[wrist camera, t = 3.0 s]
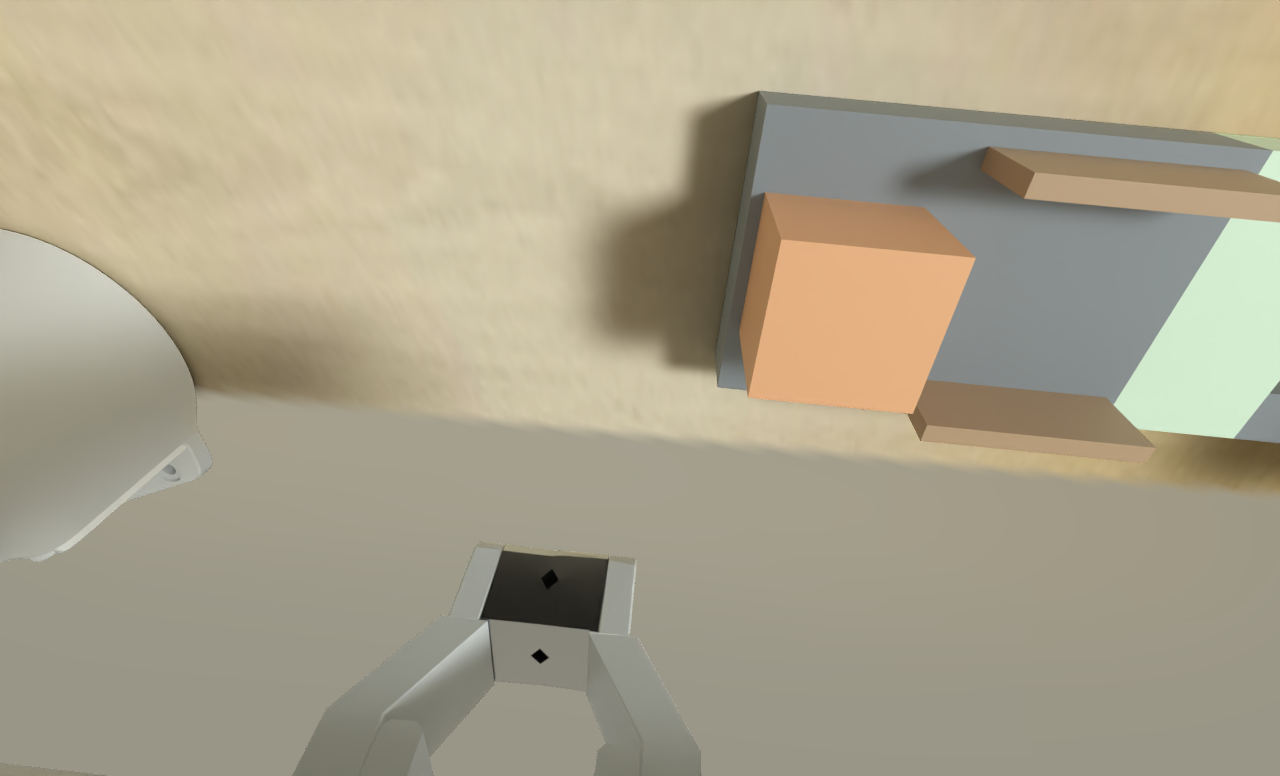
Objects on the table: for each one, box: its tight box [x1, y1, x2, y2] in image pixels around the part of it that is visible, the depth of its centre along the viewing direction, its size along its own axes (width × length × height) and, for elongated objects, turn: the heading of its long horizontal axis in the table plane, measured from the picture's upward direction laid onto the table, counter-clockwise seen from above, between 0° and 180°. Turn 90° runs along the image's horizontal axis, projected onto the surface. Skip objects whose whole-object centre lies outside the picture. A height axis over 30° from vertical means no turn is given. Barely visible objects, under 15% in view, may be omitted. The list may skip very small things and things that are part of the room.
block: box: [739, 192, 976, 414], centre depth 23 cm, size 6×6×5 cm
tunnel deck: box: [715, 91, 1280, 463], centre depth 24 cm, size 32×12×6 cm, turn 86°
